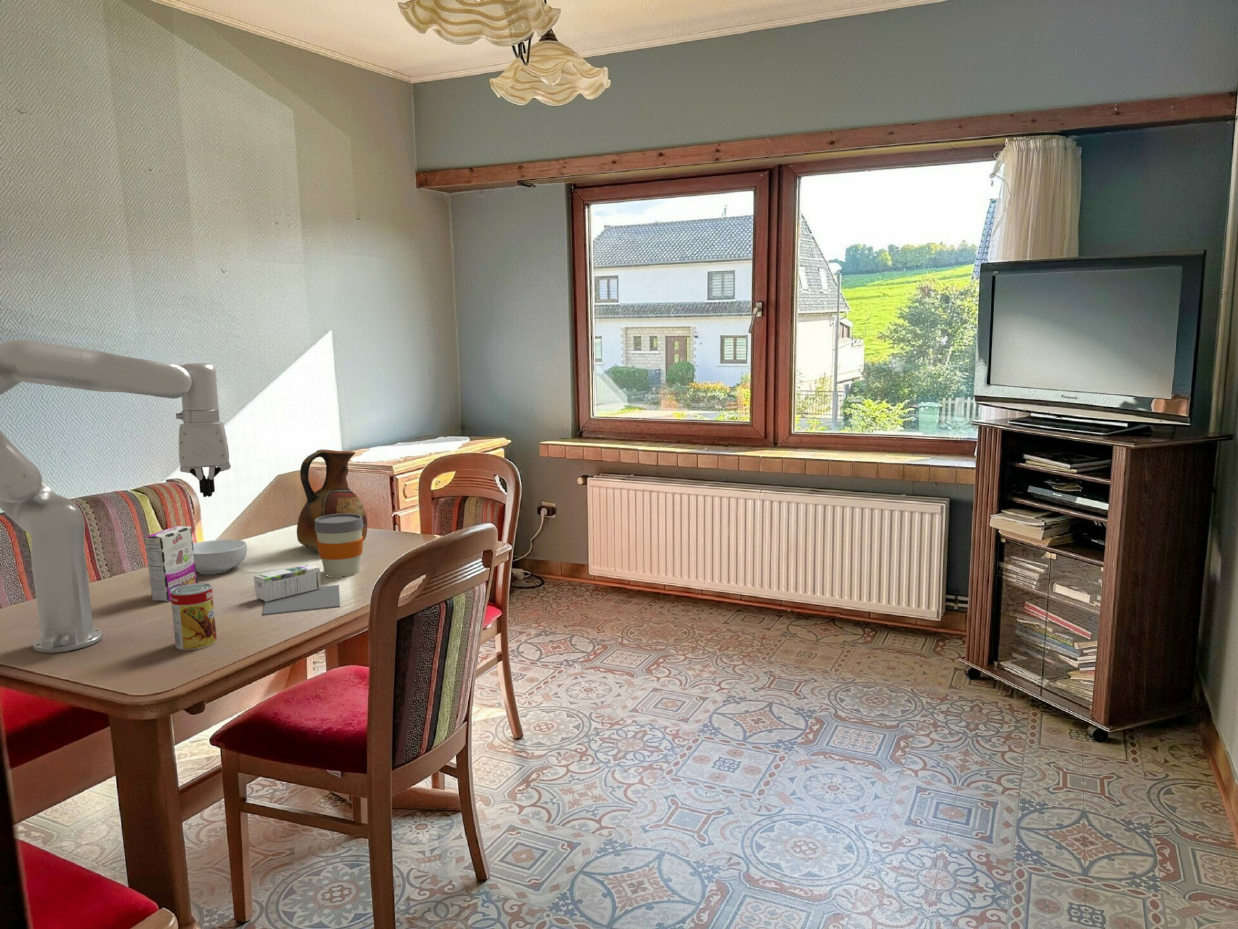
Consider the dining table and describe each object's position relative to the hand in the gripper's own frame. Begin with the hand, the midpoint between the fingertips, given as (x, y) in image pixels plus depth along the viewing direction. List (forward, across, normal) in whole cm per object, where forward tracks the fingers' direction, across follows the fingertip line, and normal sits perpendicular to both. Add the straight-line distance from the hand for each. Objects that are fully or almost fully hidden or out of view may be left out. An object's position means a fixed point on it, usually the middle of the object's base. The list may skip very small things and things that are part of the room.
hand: (207, 495), depth 205 cm
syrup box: (+24, +9, +1) cm, 26 cm away
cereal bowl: (+27, -4, +36) cm, 45 cm away
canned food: (+27, -1, -25) cm, 37 cm away
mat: (+27, +19, -1) cm, 33 cm away
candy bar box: (+27, -11, +15) cm, 33 cm away
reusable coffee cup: (+27, +29, +21) cm, 45 cm away
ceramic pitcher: (+27, +26, +50) cm, 63 cm away
